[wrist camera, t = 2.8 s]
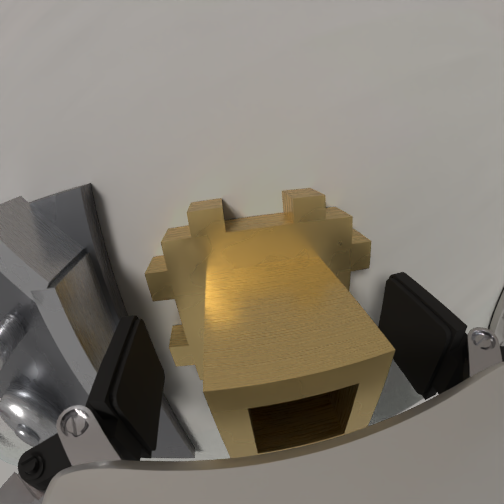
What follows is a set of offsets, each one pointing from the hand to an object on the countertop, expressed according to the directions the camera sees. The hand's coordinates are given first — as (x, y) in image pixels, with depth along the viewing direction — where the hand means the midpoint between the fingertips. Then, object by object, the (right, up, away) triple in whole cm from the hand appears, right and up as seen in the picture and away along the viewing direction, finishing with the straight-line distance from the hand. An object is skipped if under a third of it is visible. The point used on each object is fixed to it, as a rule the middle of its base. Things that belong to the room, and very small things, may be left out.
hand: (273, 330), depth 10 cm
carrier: (-15, -5, +3) cm, 16 cm away
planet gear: (0, +1, +3) cm, 3 cm away
